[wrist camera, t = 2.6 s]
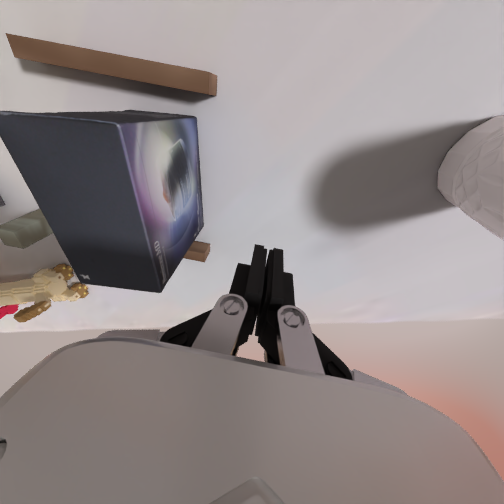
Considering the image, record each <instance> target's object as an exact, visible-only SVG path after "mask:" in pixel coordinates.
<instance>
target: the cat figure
mask: <svg viewBox="0 0 504 504" xmlns="http://www.w3.org/2000/svg"><path fill="white" fill-rule="evenodd" d="M53 269H54V270H55V271H54V270H53ZM53 269H41V270H40V271H38V272H37V273H35V274H34V277H32V278H31V279H24V280H19V281H16V282H6V283H0V306H2V307H1V308H0V319H1V318H2V317H4V316H5V315H6V314H13V313H15V312H16V311H17V310H18V309H17V308H18V307H19V306H17V305H19V304H26V303H27V302H33V301H35V303H34V304H35V305H32V306H30V307H26V308H24V309H23V310H20V311H19V312H18V313H16V314H15V315H14V316H15V317H13V318H15V319H16V320H17V321H18V322H26V321H27V320H30V319H32V318H34V317H36V316H37V315H40V314H41V313H42V312H43V311H46V310H47V309H48V308H49V307H50V306H51V302H50V301H51V300H50V299H52V300H53V301H66V300H67V299H68V300H70V302H71V301H77V300H78V299H79V298H85V297H86V296H87V295H88V294H89V293H88V292H87V291H86V290H87V289H88V288H87V287H86V285H85V284H81V283H77V284H74V285H73V286H72V287H71V289H72V290H70V289H69V288H67V285H68V284H67V282H66V281H65V280H69V279H70V278H72V277H73V276H74V275H73V274H72V271H73V269H72V268H71V267H70V266H66V265H65V264H59V265H57V266H56V267H55V268H53ZM4 305H5V306H4Z"/></svg>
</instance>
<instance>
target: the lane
mask: <svg viewBox="0 0 504 504" xmlns="http://www.w3.org/2000/svg"><path fill="white" fill-rule="evenodd" d="M6 36H7V38H8V41H9V44H10V46H11V49H12V51H13V54H14V57H16V58H21V59H26V60H31V61H37V62H42V63H47V64H52V65H57V66H63V67H68V68H73V69H78V70H84V71H89V72H94V73H99V74H104V75H110V76H115V77H120V78H125V79H131V80H136V81H141V82H146V83H151V84H157V85H162V86H167V87H172V88H178V89H183V90H188V91H193V92H198V93H204V94H209V95H214V96H216V93H217V76H216V75H214V74H212V73H210V72H206V71H201V70H196V69H190V68H185V67H180V66H175V65H169V64H164V63H159V62H154V61H148V60H143V59H138V58H133V57H127V56H122V55H117V54H112V53H106V52H101V51H96V50H91V49H85V48H80V47H75V46H70V45H64V44H59V43H54V42H49V41H43V40H38V39H33V38H28V37H22V36H17V35H12V34H7V33H6ZM52 233H53V231H52V229H51V227H50V226H49V224H48V222H47V220H46V218H45V217H44V215H43V213H42V211H41V209H38V210H36V211H34V212H31V213H29V214H26V215H24V216H22V217H19V218H17V219H14V220H12V221H10V222H7V223H5V224H2V225H0V238H1V240H2V241H3V243H4V244H5V245H8V246H13V247H18V248H23V249H24V248H26V247H28V246H30V245H32V244H33V243H35V242H37V241H39V240H41V239H43V238H44V237H46V236H48V235H50V234H52ZM209 252H210V244H208V243H203V242H198V241H194V242H193V243H192V245H191V246H190V248H189V249H188V251H187V252H186V254H185V256H184V257H183V258H186V259H191V260H196V261H201V262H205V260H206V258H207V256H208V254H209Z"/></svg>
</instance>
